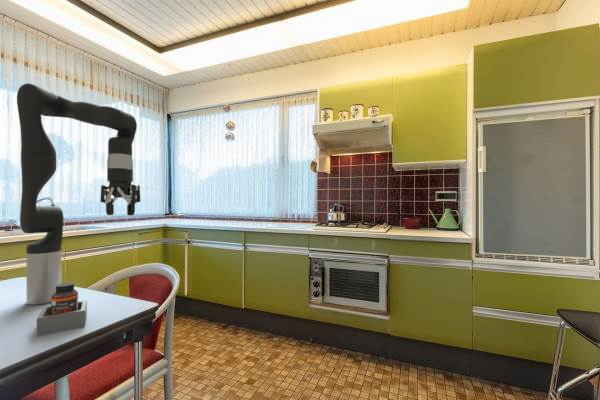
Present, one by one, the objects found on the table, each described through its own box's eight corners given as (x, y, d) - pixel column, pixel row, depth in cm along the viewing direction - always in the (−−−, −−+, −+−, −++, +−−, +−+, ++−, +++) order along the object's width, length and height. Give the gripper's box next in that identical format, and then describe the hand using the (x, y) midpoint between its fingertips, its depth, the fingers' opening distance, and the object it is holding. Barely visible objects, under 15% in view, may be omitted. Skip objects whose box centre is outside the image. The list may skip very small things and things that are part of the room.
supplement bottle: (52, 331, 77) (52, 288, 77) (49, 324, 81) (49, 284, 81) (80, 324, 81) (80, 284, 81) (75, 318, 85) (75, 280, 85)
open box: (43, 322, 82) (43, 307, 82) (86, 314, 88) (86, 300, 88) (36, 336, 74) (36, 318, 74) (85, 326, 80) (85, 310, 80)
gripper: (93, 167, 97) (93, 215, 97) (128, 166, 94) (128, 215, 94) (112, 170, 104) (112, 214, 104) (146, 168, 101) (146, 214, 101)
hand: (120, 215), depth 99 cm, fingers open, 8 cm apart
